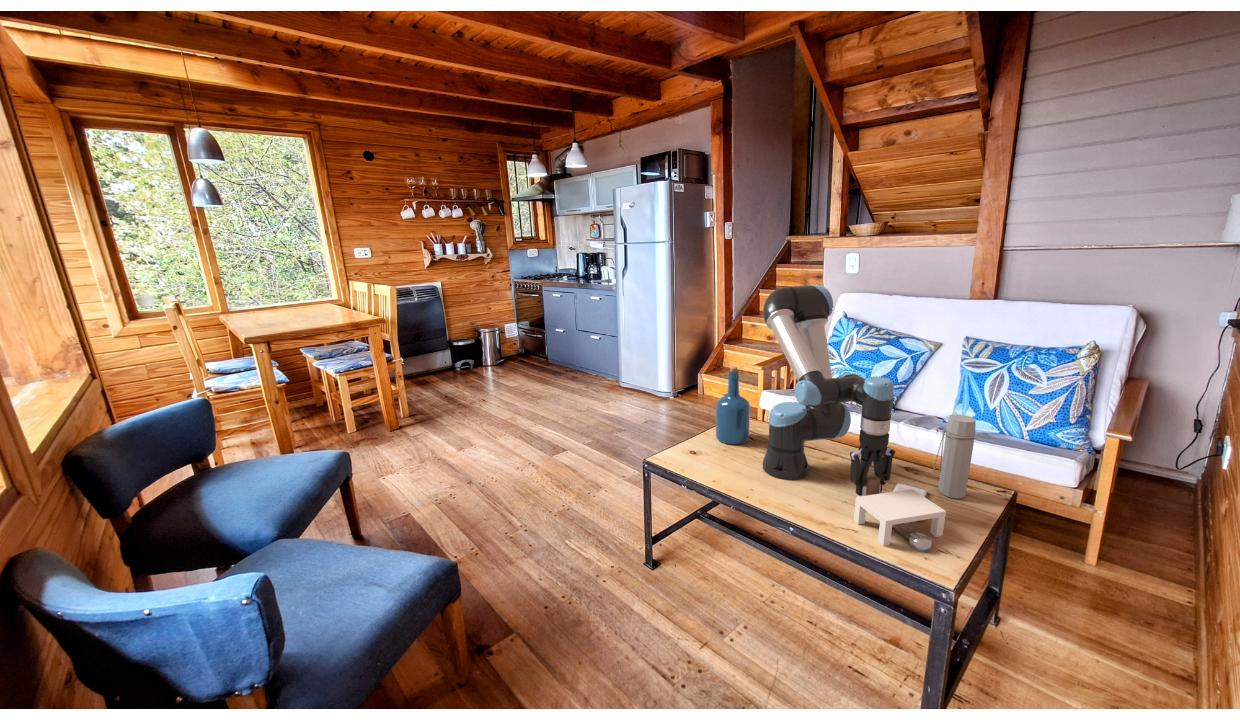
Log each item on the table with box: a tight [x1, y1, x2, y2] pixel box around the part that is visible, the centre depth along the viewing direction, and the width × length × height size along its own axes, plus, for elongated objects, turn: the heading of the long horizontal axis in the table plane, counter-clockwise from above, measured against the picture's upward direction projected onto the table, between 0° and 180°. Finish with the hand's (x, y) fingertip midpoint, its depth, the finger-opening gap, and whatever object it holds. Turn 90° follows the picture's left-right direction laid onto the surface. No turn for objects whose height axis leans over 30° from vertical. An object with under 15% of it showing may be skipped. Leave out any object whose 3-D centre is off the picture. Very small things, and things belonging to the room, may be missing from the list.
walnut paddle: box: [864, 472, 917, 540], centre depth 138 cm, size 20×4×9 cm, turn 11°
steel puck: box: [908, 532, 933, 553], centre depth 127 cm, size 5×5×2 cm
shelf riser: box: [853, 489, 947, 547], centre depth 134 cm, size 12×18×8 cm, turn 101°
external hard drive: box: [892, 482, 928, 498], centre depth 149 cm, size 2×8×12 cm
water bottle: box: [933, 413, 976, 499], centre depth 148 cm, size 9×8×25 cm
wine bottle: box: [715, 366, 751, 445], centre depth 193 cm, size 14×13×30 cm
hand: (867, 502), depth 146 cm, fingers closed on walnut paddle, 4 cm apart
